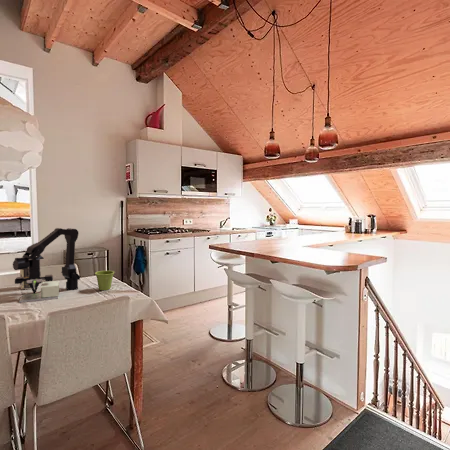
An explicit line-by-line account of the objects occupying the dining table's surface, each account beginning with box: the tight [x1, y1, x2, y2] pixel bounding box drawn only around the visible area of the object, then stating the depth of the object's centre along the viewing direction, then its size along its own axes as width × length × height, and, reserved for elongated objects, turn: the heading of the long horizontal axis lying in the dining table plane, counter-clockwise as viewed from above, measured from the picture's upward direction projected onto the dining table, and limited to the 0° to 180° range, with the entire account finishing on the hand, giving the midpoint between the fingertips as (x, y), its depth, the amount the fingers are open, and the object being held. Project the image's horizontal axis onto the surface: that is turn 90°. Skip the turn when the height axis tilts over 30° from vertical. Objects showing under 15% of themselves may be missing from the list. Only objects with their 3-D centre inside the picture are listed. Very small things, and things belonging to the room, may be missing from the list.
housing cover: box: [40, 280, 60, 298], centre depth 183 cm, size 9×13×6 cm
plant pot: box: [95, 270, 115, 291], centre depth 200 cm, size 12×12×11 cm
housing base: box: [18, 292, 59, 304], centre depth 181 cm, size 19×13×4 cm
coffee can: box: [19, 267, 40, 290], centre depth 201 cm, size 10×10×14 cm
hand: (34, 293), depth 179 cm, fingers closed
